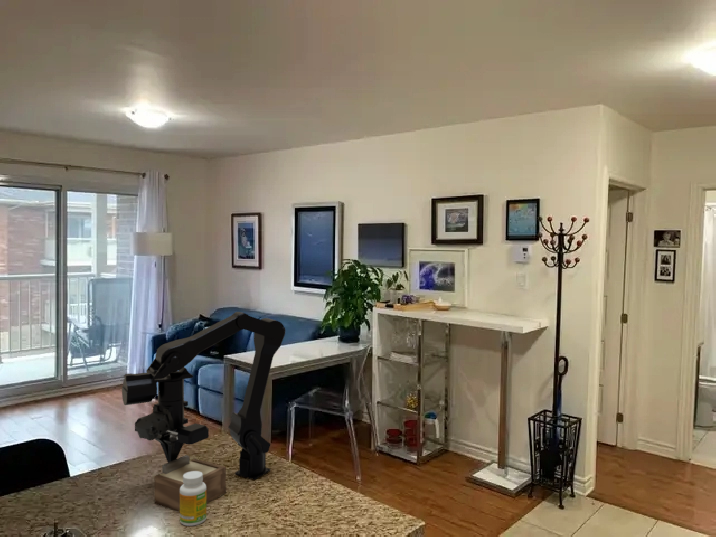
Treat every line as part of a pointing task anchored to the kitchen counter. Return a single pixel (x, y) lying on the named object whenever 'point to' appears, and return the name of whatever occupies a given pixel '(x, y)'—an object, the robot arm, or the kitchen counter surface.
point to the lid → (183, 468)
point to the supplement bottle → (192, 499)
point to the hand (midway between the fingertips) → (171, 464)
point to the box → (170, 488)
